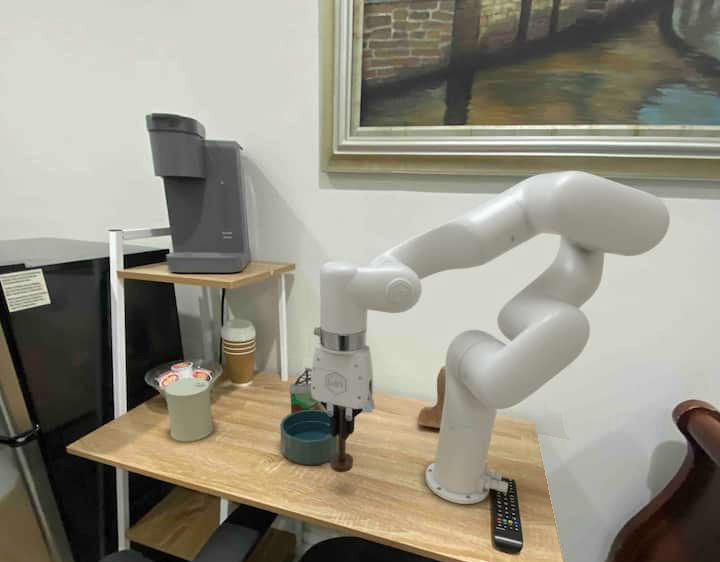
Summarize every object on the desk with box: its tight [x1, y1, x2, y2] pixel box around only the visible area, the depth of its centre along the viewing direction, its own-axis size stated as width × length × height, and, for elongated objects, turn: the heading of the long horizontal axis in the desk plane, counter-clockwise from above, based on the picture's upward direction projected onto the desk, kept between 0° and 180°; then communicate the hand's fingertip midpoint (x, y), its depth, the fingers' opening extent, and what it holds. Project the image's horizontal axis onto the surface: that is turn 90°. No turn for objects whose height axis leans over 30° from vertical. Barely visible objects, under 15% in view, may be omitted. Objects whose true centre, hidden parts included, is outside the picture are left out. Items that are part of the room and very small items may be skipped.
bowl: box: [279, 409, 338, 466], centre depth 86 cm, size 13×13×6 cm
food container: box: [289, 366, 319, 414], centre depth 100 cm, size 12×6×10 cm, turn 168°
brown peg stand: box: [329, 406, 354, 473], centre depth 71 cm, size 4×4×12 cm
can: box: [164, 377, 214, 443], centre depth 89 cm, size 9×9×12 cm
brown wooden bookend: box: [417, 365, 446, 429], centre depth 98 cm, size 15×12×15 cm
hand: (342, 433), depth 71 cm, fingers closed on brown peg stand, 1 cm apart
